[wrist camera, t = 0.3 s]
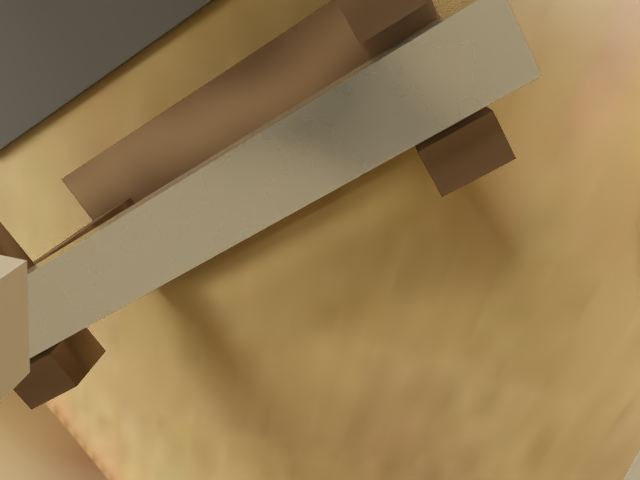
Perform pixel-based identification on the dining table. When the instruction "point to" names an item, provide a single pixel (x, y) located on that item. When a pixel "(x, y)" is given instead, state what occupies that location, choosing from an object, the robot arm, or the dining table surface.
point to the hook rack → (238, 121)
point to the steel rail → (284, 166)
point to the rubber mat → (71, 50)
